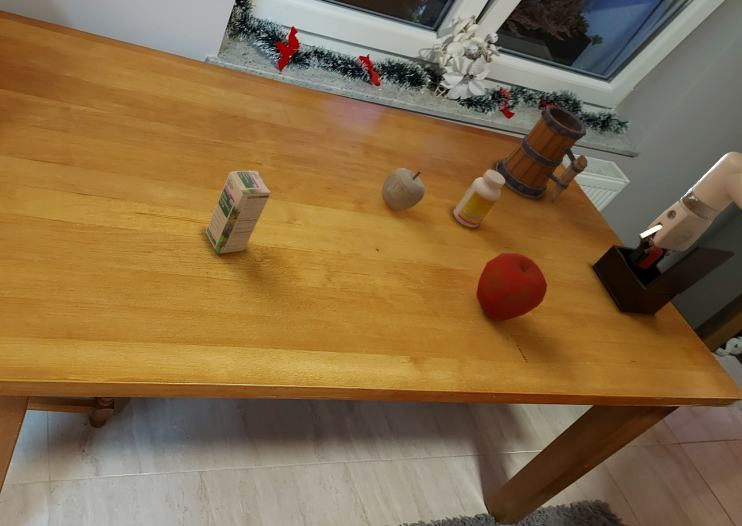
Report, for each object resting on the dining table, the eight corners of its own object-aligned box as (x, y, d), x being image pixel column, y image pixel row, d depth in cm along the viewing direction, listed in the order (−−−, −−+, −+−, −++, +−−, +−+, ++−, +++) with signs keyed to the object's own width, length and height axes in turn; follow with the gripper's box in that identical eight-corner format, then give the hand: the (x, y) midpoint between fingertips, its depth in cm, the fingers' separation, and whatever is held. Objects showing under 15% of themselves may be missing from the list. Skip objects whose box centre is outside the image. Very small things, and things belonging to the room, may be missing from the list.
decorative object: (368, 200, 148) (389, 165, 141) (386, 186, 154) (406, 152, 148) (401, 225, 146) (424, 190, 139) (417, 209, 152) (439, 176, 146)
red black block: (648, 263, 158) (664, 249, 154) (646, 271, 155) (662, 257, 151) (633, 253, 158) (648, 238, 155) (631, 261, 155) (646, 246, 152)
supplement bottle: (481, 231, 156) (513, 189, 147) (456, 225, 154) (488, 183, 145) (473, 211, 160) (503, 170, 152) (449, 205, 158) (478, 163, 150)
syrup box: (203, 231, 122) (227, 170, 113) (232, 228, 126) (258, 169, 116) (216, 254, 119) (242, 194, 110) (245, 251, 123) (272, 192, 113)
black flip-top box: (591, 266, 163) (613, 244, 158) (623, 271, 167) (646, 250, 162) (620, 311, 154) (644, 289, 149) (653, 315, 158) (678, 294, 153)
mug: (565, 211, 177) (617, 151, 164) (529, 213, 169) (580, 151, 156) (520, 161, 187) (566, 102, 174) (484, 161, 180) (529, 99, 167)
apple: (451, 299, 135) (491, 251, 125) (479, 279, 143) (518, 232, 134) (500, 344, 131) (544, 297, 121) (525, 320, 139) (569, 274, 130)
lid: (698, 245, 138) (700, 248, 138) (733, 251, 142) (735, 254, 142) (644, 286, 149) (646, 289, 148) (678, 291, 153) (680, 294, 152)
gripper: (682, 211, 139) (621, 270, 151) (737, 222, 145) (674, 278, 157) (663, 187, 144) (605, 246, 156) (716, 198, 150) (657, 254, 162)
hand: (640, 261), depth 156 cm, fingers closed on red black block, 4 cm apart
